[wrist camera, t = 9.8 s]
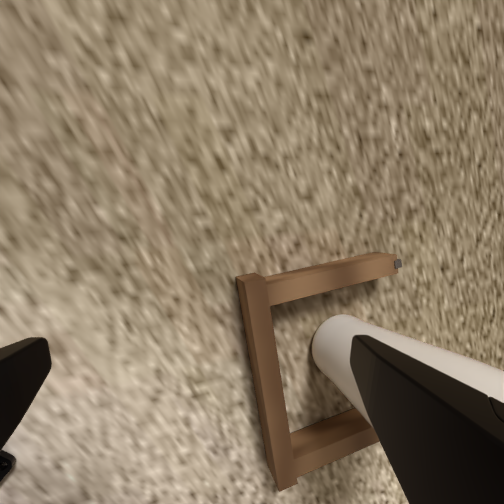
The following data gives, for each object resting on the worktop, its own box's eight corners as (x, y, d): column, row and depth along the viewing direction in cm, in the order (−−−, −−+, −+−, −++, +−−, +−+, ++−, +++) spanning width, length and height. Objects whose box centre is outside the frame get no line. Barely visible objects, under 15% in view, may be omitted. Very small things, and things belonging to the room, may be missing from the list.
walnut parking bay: (267, 465, 24) (279, 492, 22) (235, 276, 22) (245, 283, 19) (394, 412, 28) (417, 431, 25) (376, 245, 25) (400, 247, 23)
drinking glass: (364, 379, 26) (605, 563, 12) (295, 382, 24) (488, 609, 10) (374, 305, 26) (637, 403, 12) (306, 301, 24) (522, 416, 10)
